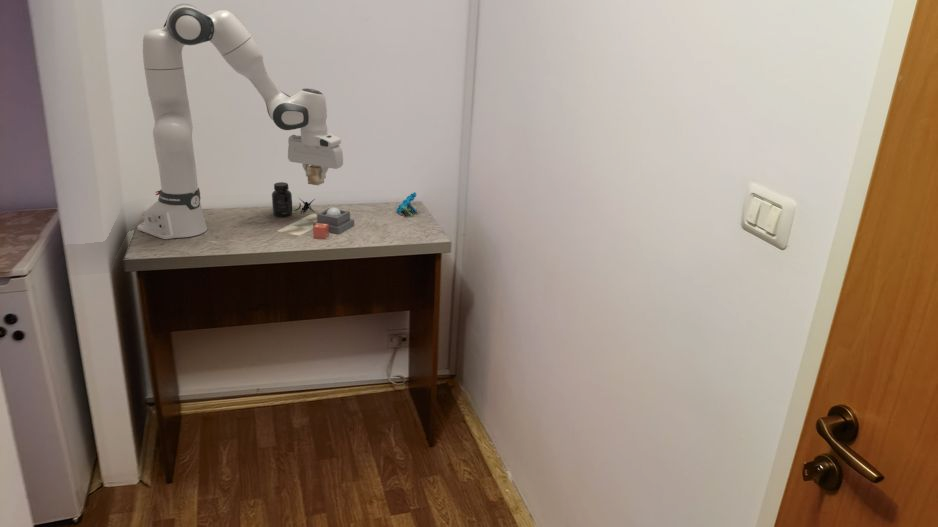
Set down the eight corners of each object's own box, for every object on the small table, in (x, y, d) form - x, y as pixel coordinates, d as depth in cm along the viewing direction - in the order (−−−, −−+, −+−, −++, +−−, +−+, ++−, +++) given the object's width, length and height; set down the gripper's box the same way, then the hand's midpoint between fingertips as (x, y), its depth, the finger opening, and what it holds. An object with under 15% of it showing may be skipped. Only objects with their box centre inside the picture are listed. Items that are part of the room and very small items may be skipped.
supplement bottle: (271, 214, 257) (269, 181, 252) (290, 212, 259) (289, 180, 255) (274, 220, 251) (272, 187, 246) (294, 218, 253) (292, 186, 249)
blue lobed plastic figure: (397, 202, 271) (416, 187, 267) (408, 213, 273) (427, 198, 268) (392, 215, 261) (410, 199, 257) (403, 226, 263) (422, 210, 259)
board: (275, 233, 239) (275, 230, 239) (310, 215, 257) (310, 213, 257) (326, 243, 233) (326, 241, 232) (359, 224, 251) (359, 222, 250)
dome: (323, 222, 242) (322, 208, 241) (331, 217, 247) (331, 204, 245) (336, 224, 241) (336, 211, 239) (344, 220, 245) (344, 206, 243)
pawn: (307, 183, 246) (306, 159, 243) (314, 181, 250) (313, 157, 246) (317, 185, 245) (316, 161, 242) (324, 182, 248) (323, 158, 245)
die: (313, 238, 235) (313, 226, 233) (317, 234, 238) (316, 222, 237) (325, 239, 234) (324, 227, 233) (328, 235, 238) (328, 223, 236)
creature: (313, 220, 257) (318, 208, 263) (312, 207, 253) (317, 196, 260) (291, 218, 257) (297, 207, 263) (290, 205, 254) (296, 194, 260)
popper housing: (313, 231, 242) (312, 214, 240) (329, 222, 251) (328, 206, 249) (338, 236, 239) (338, 219, 237) (354, 227, 248) (353, 211, 245)
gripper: (282, 135, 242) (285, 175, 247) (335, 143, 235) (336, 183, 241) (293, 132, 247) (295, 171, 253) (345, 139, 241) (345, 179, 246)
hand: (315, 177), depth 247 cm, fingers closed on pawn, 4 cm apart
